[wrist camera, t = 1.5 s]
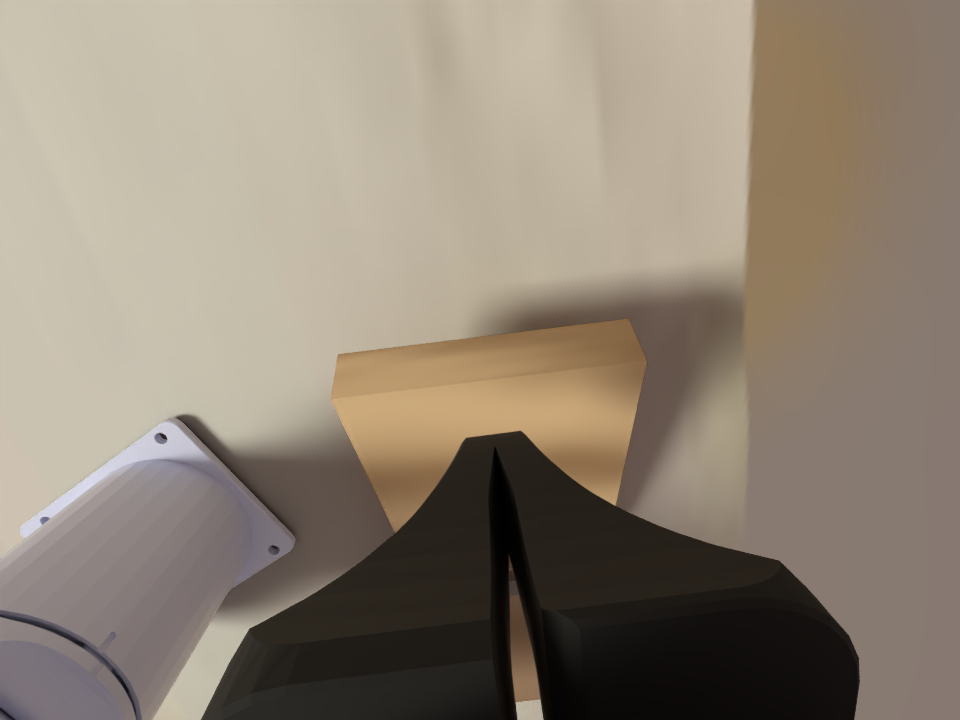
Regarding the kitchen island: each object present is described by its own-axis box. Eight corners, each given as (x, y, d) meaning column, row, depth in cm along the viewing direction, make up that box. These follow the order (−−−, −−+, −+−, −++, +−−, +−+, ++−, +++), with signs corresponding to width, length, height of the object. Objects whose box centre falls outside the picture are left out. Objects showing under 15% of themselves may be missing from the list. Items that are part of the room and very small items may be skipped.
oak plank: (599, 496, 23) (609, 532, 22) (407, 519, 23) (406, 557, 22) (628, 318, 15) (647, 360, 14) (337, 354, 15) (330, 399, 14)
